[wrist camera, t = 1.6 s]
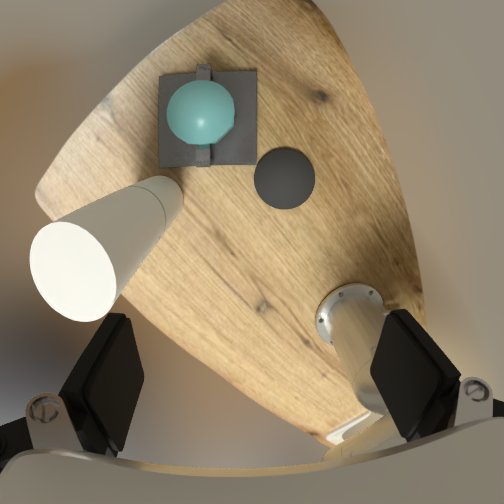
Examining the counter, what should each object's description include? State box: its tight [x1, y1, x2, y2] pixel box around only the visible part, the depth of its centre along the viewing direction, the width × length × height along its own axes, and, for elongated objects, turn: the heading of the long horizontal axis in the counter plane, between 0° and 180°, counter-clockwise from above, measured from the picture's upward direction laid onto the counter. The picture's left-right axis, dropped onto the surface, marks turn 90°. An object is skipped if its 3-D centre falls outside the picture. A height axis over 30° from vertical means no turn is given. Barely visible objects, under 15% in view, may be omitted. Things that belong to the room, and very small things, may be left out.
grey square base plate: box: [158, 64, 257, 168], centre depth 33 cm, size 13×13×7 cm
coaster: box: [254, 149, 315, 209], centre depth 39 cm, size 8×8×1 cm
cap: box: [167, 80, 235, 150], centre depth 31 cm, size 10×7×5 cm
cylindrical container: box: [30, 175, 183, 322], centre depth 28 cm, size 7×7×25 cm
